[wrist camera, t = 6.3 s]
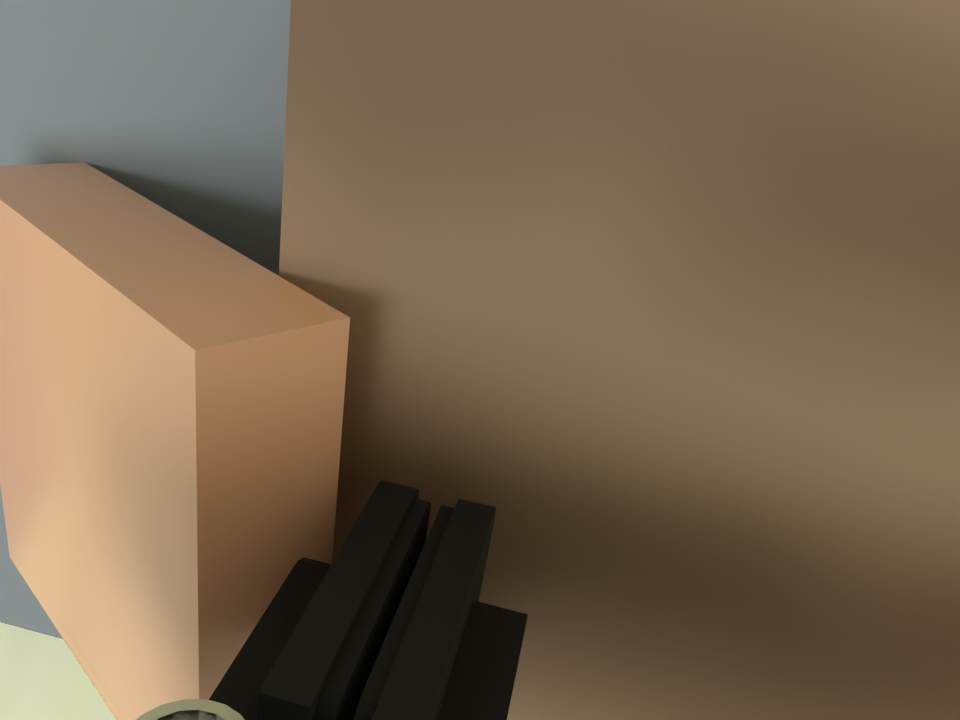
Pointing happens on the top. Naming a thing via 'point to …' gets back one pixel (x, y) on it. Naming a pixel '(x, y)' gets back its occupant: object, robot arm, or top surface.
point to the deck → (656, 331)
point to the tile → (156, 431)
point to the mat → (151, 126)
